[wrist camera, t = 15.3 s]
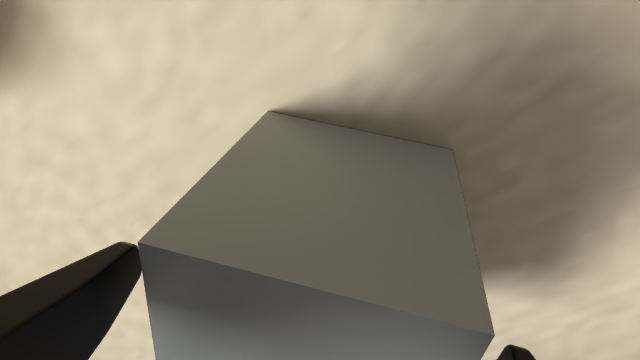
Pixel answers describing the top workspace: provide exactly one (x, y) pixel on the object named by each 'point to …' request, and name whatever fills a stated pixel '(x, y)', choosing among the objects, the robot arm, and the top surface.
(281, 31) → the top surface
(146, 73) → the top surface
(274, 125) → the grey upright block
